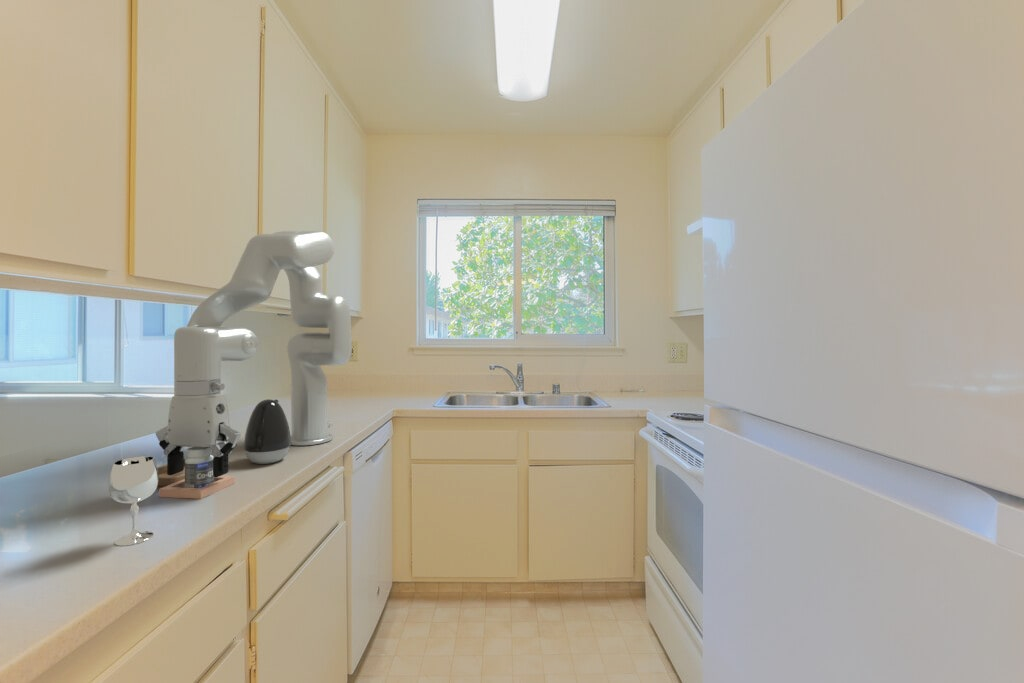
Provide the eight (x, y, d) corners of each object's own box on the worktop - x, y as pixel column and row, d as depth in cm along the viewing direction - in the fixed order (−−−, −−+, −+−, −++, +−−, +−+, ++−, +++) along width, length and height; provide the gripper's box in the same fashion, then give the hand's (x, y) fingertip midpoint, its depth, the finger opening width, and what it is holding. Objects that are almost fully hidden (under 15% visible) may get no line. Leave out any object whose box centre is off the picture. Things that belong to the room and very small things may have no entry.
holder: (195, 481, 91) (195, 474, 91) (234, 483, 91) (234, 476, 91) (159, 496, 83) (159, 489, 83) (200, 498, 82) (200, 490, 82)
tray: (183, 467, 101) (183, 458, 101) (223, 468, 100) (223, 460, 100) (129, 486, 88) (129, 476, 88) (175, 488, 87) (175, 478, 87)
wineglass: (135, 529, 69) (135, 454, 69) (168, 531, 69) (168, 456, 69) (97, 546, 64) (97, 465, 63) (133, 549, 63) (132, 467, 63)
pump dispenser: (297, 454, 112) (297, 396, 112) (281, 466, 102) (281, 402, 102) (255, 455, 111) (255, 396, 111) (235, 468, 101) (235, 402, 100)
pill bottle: (198, 494, 84) (198, 451, 84) (178, 492, 85) (178, 450, 85) (219, 486, 89) (219, 445, 89) (200, 484, 90) (200, 444, 90)
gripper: (251, 387, 89) (251, 469, 90) (174, 385, 91) (174, 466, 91) (224, 392, 82) (224, 482, 82) (140, 390, 83) (140, 478, 84)
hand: (198, 474), depth 87 cm, fingers open, 9 cm apart
